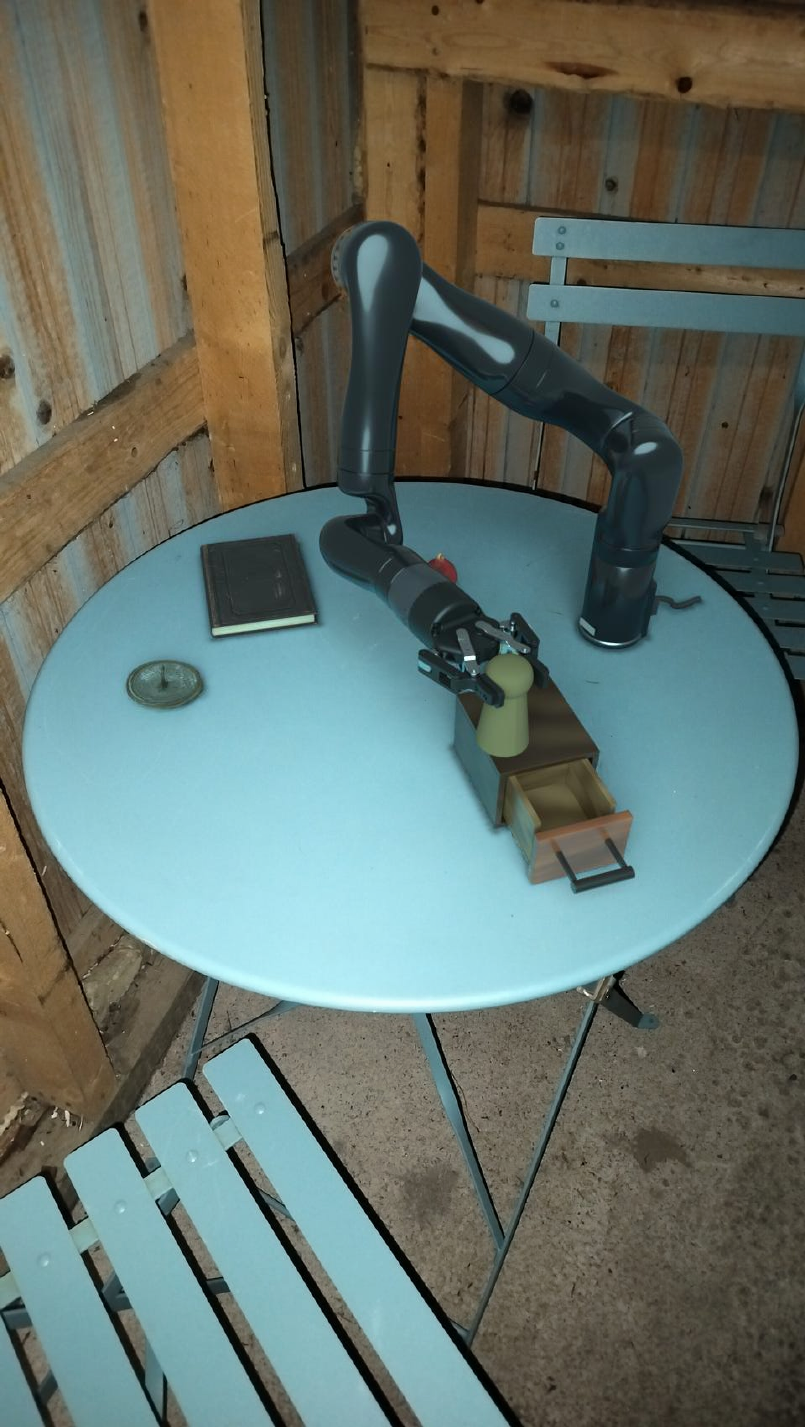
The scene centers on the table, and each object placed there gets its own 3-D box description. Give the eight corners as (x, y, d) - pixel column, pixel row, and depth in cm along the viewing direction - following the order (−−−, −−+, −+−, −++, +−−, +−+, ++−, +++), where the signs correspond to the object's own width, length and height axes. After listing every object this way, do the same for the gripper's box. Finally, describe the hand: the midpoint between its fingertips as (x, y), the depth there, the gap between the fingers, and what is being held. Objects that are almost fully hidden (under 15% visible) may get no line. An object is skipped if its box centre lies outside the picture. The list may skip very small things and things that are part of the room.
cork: (472, 720, 107) (477, 646, 99) (524, 718, 107) (533, 643, 100) (479, 758, 103) (485, 683, 95) (533, 755, 103) (544, 680, 95)
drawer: (645, 898, 104) (658, 854, 99) (551, 924, 102) (560, 880, 97) (572, 780, 118) (580, 736, 112) (487, 801, 115) (492, 756, 110)
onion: (453, 610, 146) (455, 567, 140) (417, 606, 147) (417, 562, 141) (459, 589, 150) (461, 546, 144) (423, 585, 151) (424, 542, 145)
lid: (120, 697, 133) (106, 676, 129) (172, 653, 136) (160, 631, 132) (166, 734, 128) (153, 714, 124) (219, 687, 131) (208, 665, 127)
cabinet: (589, 805, 116) (600, 750, 109) (494, 829, 113) (500, 774, 106) (541, 728, 126) (548, 674, 120) (453, 748, 123) (456, 693, 117)
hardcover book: (295, 544, 160) (294, 533, 158) (317, 624, 143) (316, 612, 141) (201, 556, 157) (198, 544, 155) (212, 639, 140) (209, 626, 139)
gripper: (380, 601, 102) (470, 688, 92) (486, 562, 108) (582, 640, 97) (381, 654, 107) (466, 743, 97) (482, 614, 113) (573, 693, 103)
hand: (523, 691), depth 97 cm, fingers closed on cork, 5 cm apart
